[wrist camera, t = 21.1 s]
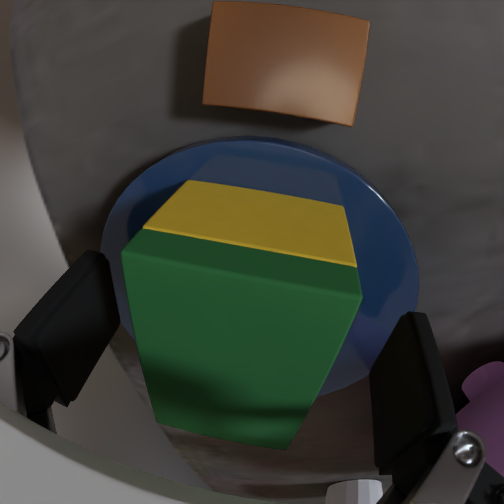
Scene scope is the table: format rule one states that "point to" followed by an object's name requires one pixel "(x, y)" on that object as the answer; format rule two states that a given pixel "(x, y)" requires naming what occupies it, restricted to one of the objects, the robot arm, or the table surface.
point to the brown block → (285, 60)
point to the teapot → (486, 410)
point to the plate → (299, 185)
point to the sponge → (239, 308)
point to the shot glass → (354, 492)
